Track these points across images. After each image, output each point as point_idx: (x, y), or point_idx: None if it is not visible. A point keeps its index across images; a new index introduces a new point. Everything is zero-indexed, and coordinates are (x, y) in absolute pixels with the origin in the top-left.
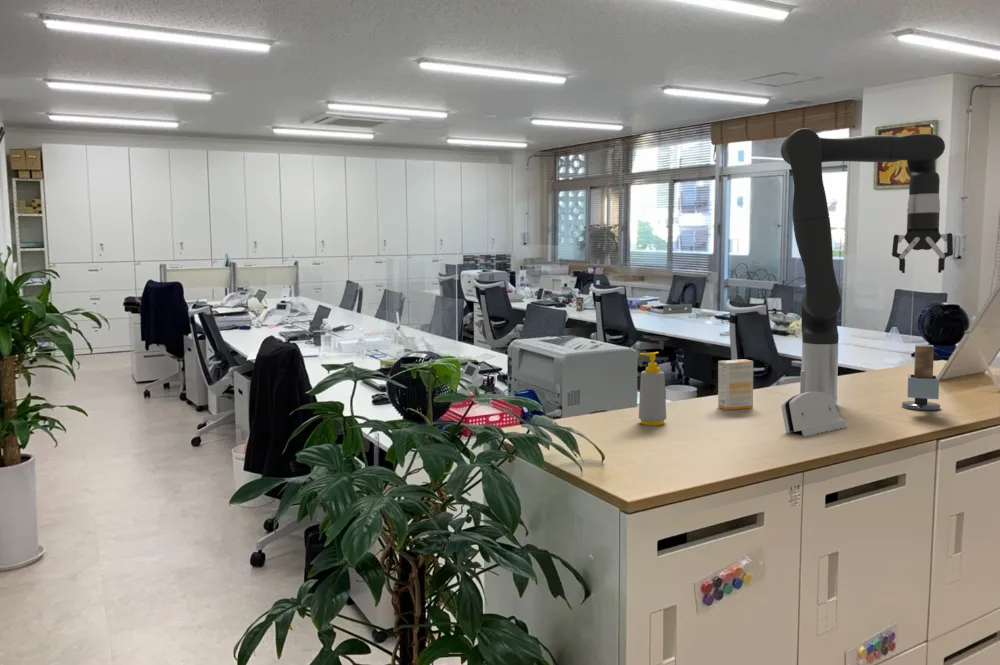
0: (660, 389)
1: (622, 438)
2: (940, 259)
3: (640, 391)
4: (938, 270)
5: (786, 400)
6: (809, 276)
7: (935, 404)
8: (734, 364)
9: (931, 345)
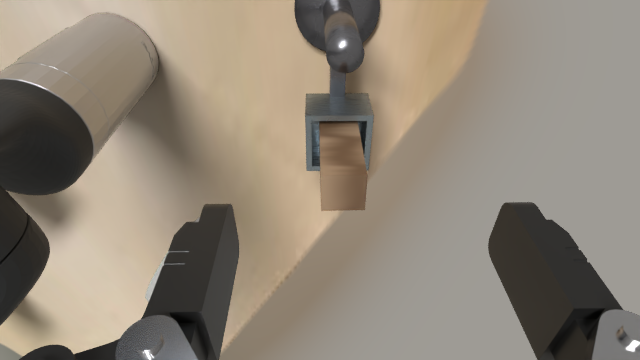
0: None
1: (33, 341)
2: (549, 353)
3: None
4: (493, 261)
5: (146, 296)
6: None
7: (370, 1)
8: None
9: (361, 186)
